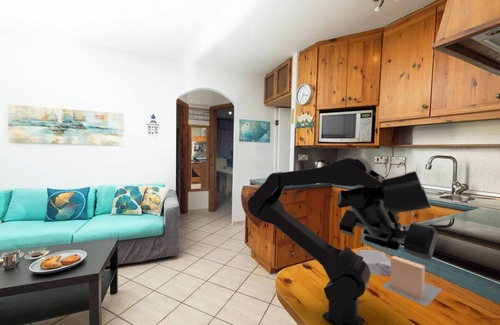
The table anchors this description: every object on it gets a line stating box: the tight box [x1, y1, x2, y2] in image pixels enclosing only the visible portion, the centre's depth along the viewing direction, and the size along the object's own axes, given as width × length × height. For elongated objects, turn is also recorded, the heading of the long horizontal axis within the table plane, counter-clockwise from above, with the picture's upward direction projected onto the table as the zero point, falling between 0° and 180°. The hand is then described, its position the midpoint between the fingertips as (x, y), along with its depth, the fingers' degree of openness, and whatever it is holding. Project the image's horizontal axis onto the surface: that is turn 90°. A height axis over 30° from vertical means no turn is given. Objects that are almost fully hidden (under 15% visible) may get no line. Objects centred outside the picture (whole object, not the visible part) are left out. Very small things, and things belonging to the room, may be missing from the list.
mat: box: [381, 279, 443, 307], centre depth 60 cm, size 11×10×1 cm
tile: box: [390, 255, 426, 300], centre depth 58 cm, size 2×7×8 cm, turn 34°
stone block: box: [354, 249, 391, 277], centre depth 72 cm, size 12×5×10 cm
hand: (393, 249), depth 53 cm, fingers closed
